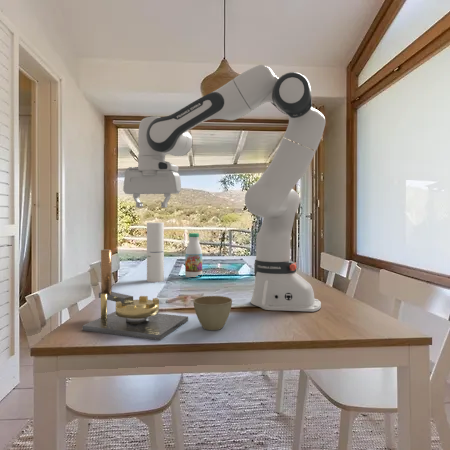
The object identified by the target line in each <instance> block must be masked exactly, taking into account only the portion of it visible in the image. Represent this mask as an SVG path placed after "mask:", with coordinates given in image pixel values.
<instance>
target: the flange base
mask: <svg viewBox="0 0 450 450" xmlns="http://www.w3.org/2000/svg"><path fill="white" fill-rule="evenodd" d="M187 322H189V316H186V315H179V314H177V315H176V314H169V313H167V314H166V313H157V314H156V315H153V316H149V317H144V318H123V317H119V316H117V315H116V310H115V311H114V312H113V311H112V312H111V313H108V300H107V294H106V293H103V294H101V298H100V318H99V317H98V318H97V319H95V320H93V321H90V322H88V323H85V324H83V325H82V331H84V332H93V333H99V334H100V333H101V334H109V335H117V336H123V337H131V338H139V339H141V338H142V339H148V340H154V341H155V340H156V341H161V340H162V339H165V337H167V336H168V335H170V334H172V333H173V332H174V331H176V330H177V329H179V328H180V327H182V326H183V325H184V324H186V323H187Z"/></svg>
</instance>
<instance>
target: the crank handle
mask: <svg viewBox="0 0 450 450" xmlns="http://www.w3.org/2000/svg"><path fill="white" fill-rule="evenodd" d="M112 255H113V254H112V249H101V250H100V292H98V298H99V299H101V294H103V293H106V294H107V301H111V302H115V311H116V315H117V316H119V317H123V318H144V317H149V316H153V315H156V314H157V313H159V312H160V299H159V298H157V297H154V298H152V299H149V296H147V295H140V296H139V297H138V299H134V295H129V294H124V293H119V292H114V291H112V290H113V288H112V285H113V283H112V279H113V278H112V272H113V270H112V267H113V266H112V265H113V262H112ZM159 314H160V313H159Z"/></svg>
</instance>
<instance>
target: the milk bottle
mask: <svg viewBox="0 0 450 450" xmlns="http://www.w3.org/2000/svg"><path fill="white" fill-rule="evenodd" d="M199 240H200V234H199V232H195V233H194V232H190V233H188V244H187V245H186V249H185V254H184V256H185V259H184V260H185V261H184V263H185V266H184V268H185V270H184V271H185V272H184V273H185V274H184V275H185V277H186V278H187V277H196V276H198V275H201V274H202V275H203V251H202V249H203V248H202V246H201V244H200V241H199Z"/></svg>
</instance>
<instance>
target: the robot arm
mask: <svg viewBox="0 0 450 450" xmlns="http://www.w3.org/2000/svg"><path fill="white" fill-rule="evenodd" d="M265 103H271V104H272V105H273V106H274V107H275V108H276V109H277V110H278V111H280V112H281V113H282V114H284V115H287V116H288V124H287V127H286V130H285V132H284V134H283V137H282V139H281V141H280V144H279V146H278V148H277V150H276V152H275V155H273V156H274V157H273V158H272V160H271V162H270V164H269V165H268V167H267V168H266V170H264V172H263V173H262V174H261V176H260V177H259V179H258V180H257V181H256V182H255V183H253V185H251V186H250V187H249V188H248V189H247V190H246V192H245V195H244V204H245V208H246V209H247V210H248V212H249V213H251V214H252V215H255V216H257V217H259V218H263V219H262V222H261V227H260V229H259V230H258V232H257V234H256V238H255V240H256V241H255V242H256V246H255V247H256V249H255V257H256V258H255V260H254V264H253V265H254V266H253V267H254V268H253V274H254V284H253V285H254V287H253V292H252V296H251V298H250V299H251V300H250V303H251V304H252V305H254V306H256V307H259V308H261V309H263V310H266V311H288V312H317V311H319V310H320V309H321V308H322V302H321V301H320V300H319V299H318V298H315V293H314V289H313V287H312V285H311V283H310V282H308V281H307V280H306V279H305V278H304V277H302V276H301V275H300V274H298V273H297V262H294V261H293V260H291V239H292V230H293V225H294V222H295V218H296V217H295V216H296V213H297V211H298V209H299V207H300V203H301V198H300V196H299V194H298V192H297V191H296V190H295V189H294V187H295V186H296V184H297V183H299V181H300V180H301V179H302V178H303V177H304V176H305V175H306V173H307V172H308V169H309V167H310V165H311V163H312V160H313V158H314V156H315V154H316V153H317V150H318V148H319V145H320V143H321V140H322V137H323V135H324V130H325V126H326V121H327V120H326V117H325V116H324V114H323V113H322V112H321V111H319V110H318V109H316V108H314V107H313V98H312V89H311V84H310V81H309V80H308V78H307V77H306V76H305V75H304V74H301V72H300V73H299V72H295V71H294V72H293V71H291V72H290V71H289V72H287V73H284V74H282V75H281V76H280V77H278V76H277V75H276V74H275V73H274V71H273V70H272V68H270V67H269V66H267V65H266V64H257V65H256V66H253V67H252V68H249V69H247V70H245V71H244V72H242V73H240V74H239V75H237V76H235V77H234V78H233V79H231V80H229V81H228V82H226V83H225V84H224V85H222V86H220V87H219V88H217V89H215V90H214V91H211V92H210V93H207V94H205V95H203V96H201V97H199V98H198V99H196V100H195V101H193V102H191V103H189V104H187V105H186V106H184V107H183V108H180V109H179V110H177V111H175V112H174V113H172V114H170V115H167V116H158V115H150V116H146V117H143V119H141V120H140V121H139V125H138V126H139V127H138V132H137V135H138V136H137V138H138V139H137V144H138V149H139V152H138V158H137V159H138V160H137V165H138V166H133V167H132V166H131V167H130V166H129V167H127V168H126V169H125V171H124V181H123V189H122V190H123V192H124V194H125V195H126V194H127V195H132V198H133V200H134V202H135V207H136V208H137V209H138V208H143V206H144V204H143V203H144V202H142V201H140V197H141V195H163V197H164V200H163V201H162V202H161V203H160V205H161V206H160V207H161V208H162V209H163V208H168V202H169V201H170V199H171V197H172V196H171V195H172V194H173V195H174V194H177V195H178V194H180V193H181V190H182V182H181V175H180V174H179V165H176V164H174V163H171V162H170V161H167V160H166V156H167V155H171V156H174V157H181V156H186V155H187V154H188V153H189V152H190V151H191V150H192V146H193V143H194V142H193V136H192V134H191V133H190V132H189V131H191V130H192V129H193V128H195V127H197V126H199V125H200V124H202V123H204V122H206V121H209V120H225V121H235V120H238V119H240V118H242V117H245V116H246V115H248V114H250V113H251V112H252V111H254V110H256V108H259V107H260V106H261V105H263V104H265Z"/></svg>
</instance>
